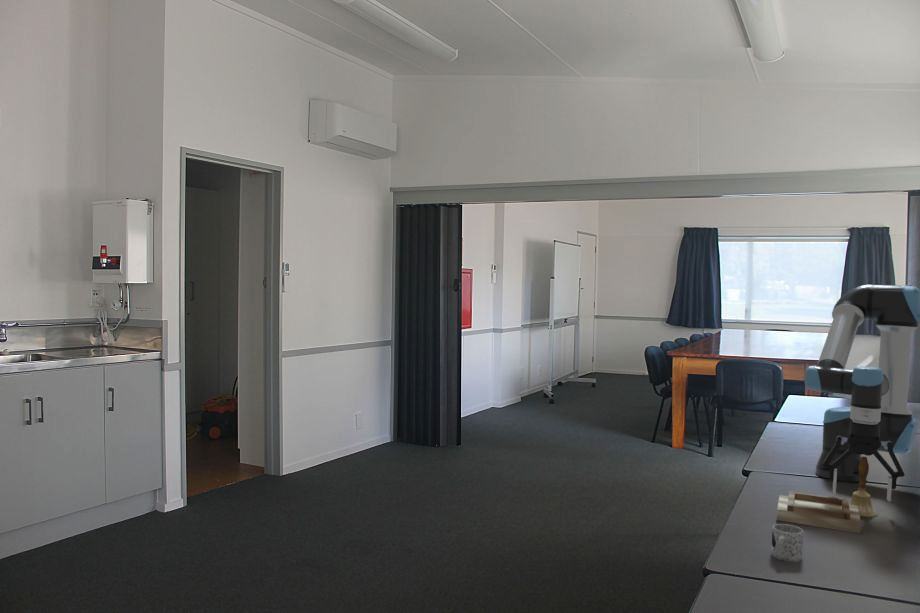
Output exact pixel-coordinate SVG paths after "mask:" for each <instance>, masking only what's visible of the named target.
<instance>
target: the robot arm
mask: <svg viewBox="0 0 920 613" xmlns="http://www.w3.org/2000/svg"><path fill="white" fill-rule="evenodd" d="M831 317H832V322H831V323H830V324H831V325H830V327H829V330H828V333H827V336H826V338H825V342H824V344H823V348H822V350H821V352H820V356H819V358H818V360H817V361H818V362H817V365H809V366H808V367H806V369H805V372H804V385H805V387H806V389H807V390H809V391H810V390H811V391H815V392H820V393H831V394H842V395H849V396H850V395H851V397H850V398H851V400H850V402H851V403H850V406H839V407H830V408H828V409H826V410H825V411H824V414H823V415H824V416H823V421H822V423H823V426H822V429H823V430H822V431H823V432H822V448H821V449H822V450H821V452H820V456H819V458H818V461H817V463H816V465H815V474H816V475H817V476H819V477H821V478H825V479H827V480H829V481H830V482H832V494H835V495H836V494H837V481H838V482H846V483H859V482H860V477H859V472H858V467H859V463H860V460H861V458H862V457H863V456H862V455H865V456H866V457H870V456H872V455H873V456H874V458H876V459H877V461H878V462H879V463H880V464H881V465H882V467H884V469H885V470H886V471H887V472H888V474H889V475H888V476H887V488H886V500H887V502H891V501H892V490H896V489H897V480H898V478H901V477H902V478H904V477H905V476H906V475H905V472H904V470H903V468H902V466H901V464H900V462H899V460H898V459H897V456H896V454H897V455H899V454H900V455H907V454H909V453H910V452H911V450H912V448H913V446H914V443H915V439H916V435H917V430H918V420H917V419H915V418H913V412H912V411H911V410H910V409H909V408H908V397H909V396H908V395H909V378H910V364H911V348H912V334H913V332H914V331H916V330H917V329H918V326H919V325H918V324H920V288H919V287H917V286H914V285H903V284H902V285H900V284H899V285H897V284H895V285H893V284H891V285H890V284H888V285H887V284H863V285H859V286H856V287H853V288H851V289H850V290H848V291H847V292H845V294H843V295H842V296H841V297H840V298H839V299H838V300H837V301H836V303H835V304H834V307H833V309H832V312H831ZM865 320H867V321H868V320H869V321H870V320H871V321H875V326H876V328H877V329H878V330H879V331H880V338H879V339H880V340H879V341H880V342H879V357H878V367H875V366H874V367H873V366H862V365H861V366H855V367H853V369H850V368H849V369H848V368H846V365H847V363H848V360H849V356H850V353H851V350H852V348H853V343H854V342H855V338H856V334H857V331H858V328H859V326H861V325H862V324H863V322H864V321H865ZM880 452H883V453H888V454H889V457H890V459H891V460H892V462H893V464H894V467H895V469H896V471H895V470H894V469H893V468H892V467H891V466H890V464H889V463H888V462H887V461H886V460H885V458H884V457H883V456H882V455H881V453H880Z"/></svg>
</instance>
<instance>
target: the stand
mask: <svg viewBox="0 0 920 613" xmlns="http://www.w3.org/2000/svg"><path fill="white" fill-rule="evenodd" d="M849 503H850V502H849V499H848V498H843V497H834V496H829V495H820V494H812V493H806V492H799V491H798V492H797V491H791V490H789V492H788V495H783V494H779V497H778V503H777V507H776V508H777V509H776V521H779V520H780V522H787V523H793V524H800V525H805V526H812V527H818V528H824V529H825V528H826V529H833V530H838V531H843V532H851V533H858V534H861V529H862V528H861V525H862V523H861V522H862V520H861V516H860V515H859V509H858V506H854V505H849Z"/></svg>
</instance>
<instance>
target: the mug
mask: <svg viewBox="0 0 920 613" xmlns="http://www.w3.org/2000/svg"><path fill="white" fill-rule="evenodd" d="M803 546H804V529H803V528H801V527H799V526H797V525H793V524H787V523H776V524H773V525H772V531H771V550H770V551H771V552H770V554H771V556H772V557H773V558H775V559H777V560H780V561H784V562H791V563H793V562H794V563H797V562H801V561H802V560H803Z"/></svg>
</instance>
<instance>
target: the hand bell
mask: <svg viewBox="0 0 920 613" xmlns="http://www.w3.org/2000/svg"><path fill="white" fill-rule="evenodd" d="M861 457H862V458H861V460H860V463H859V467H858V472H859V477H860V482H858V489H857V491H853V492H852V495H851V500H850V501H849V502H848V503H849V505H854V506H858V509H859V515H860V517H863V518H865V517H866V518H873V517H874V518H875V517H877V516H878V513H877V511H876V510H875V509H874V507H873V504H872V500H871V499H872V497H871V494H870V493H868V492H867V491H866V488H867V487H866V484H867V482H866V481H867V478H868V475H869V472H870V471H869V470H870V467H869V466H870V465H869V462H868V458H867V457H868V456H861Z"/></svg>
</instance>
